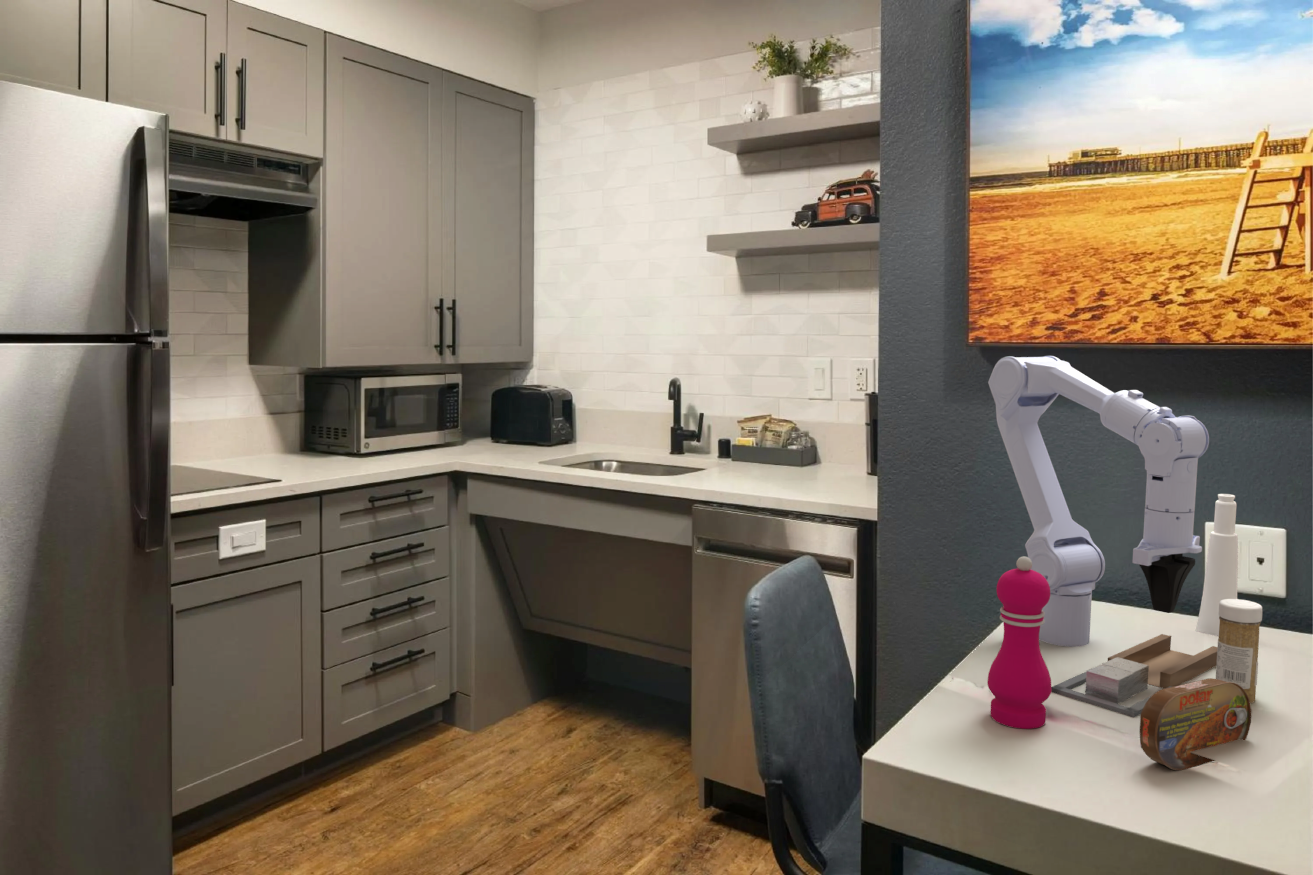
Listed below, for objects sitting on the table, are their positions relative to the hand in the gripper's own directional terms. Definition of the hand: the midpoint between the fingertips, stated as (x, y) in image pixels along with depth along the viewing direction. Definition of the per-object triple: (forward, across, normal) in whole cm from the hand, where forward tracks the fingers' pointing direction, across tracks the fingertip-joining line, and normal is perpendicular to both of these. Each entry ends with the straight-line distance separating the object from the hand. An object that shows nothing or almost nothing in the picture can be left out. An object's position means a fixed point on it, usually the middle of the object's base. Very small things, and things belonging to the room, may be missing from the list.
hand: (1163, 610), depth 126 cm
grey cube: (+9, -9, 0) cm, 13 cm away
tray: (+10, -12, 0) cm, 15 cm away
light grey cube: (+9, -13, 0) cm, 16 cm away
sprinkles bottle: (+10, -1, -10) cm, 14 cm away
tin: (+10, -20, -13) cm, 26 cm away
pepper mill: (+10, -26, +5) cm, 28 cm away
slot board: (+10, +2, 0) cm, 10 cm away
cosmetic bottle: (+10, +27, +4) cm, 29 cm away
